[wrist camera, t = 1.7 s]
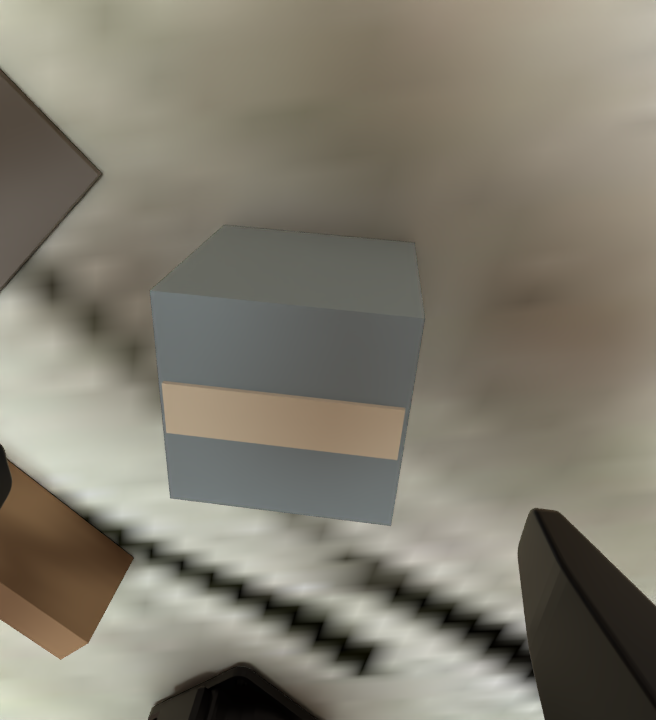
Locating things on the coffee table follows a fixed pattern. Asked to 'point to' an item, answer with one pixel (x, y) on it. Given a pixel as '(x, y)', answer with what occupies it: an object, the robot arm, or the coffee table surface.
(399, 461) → the cube
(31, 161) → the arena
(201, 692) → the robot arm
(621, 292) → the coffee table surface
